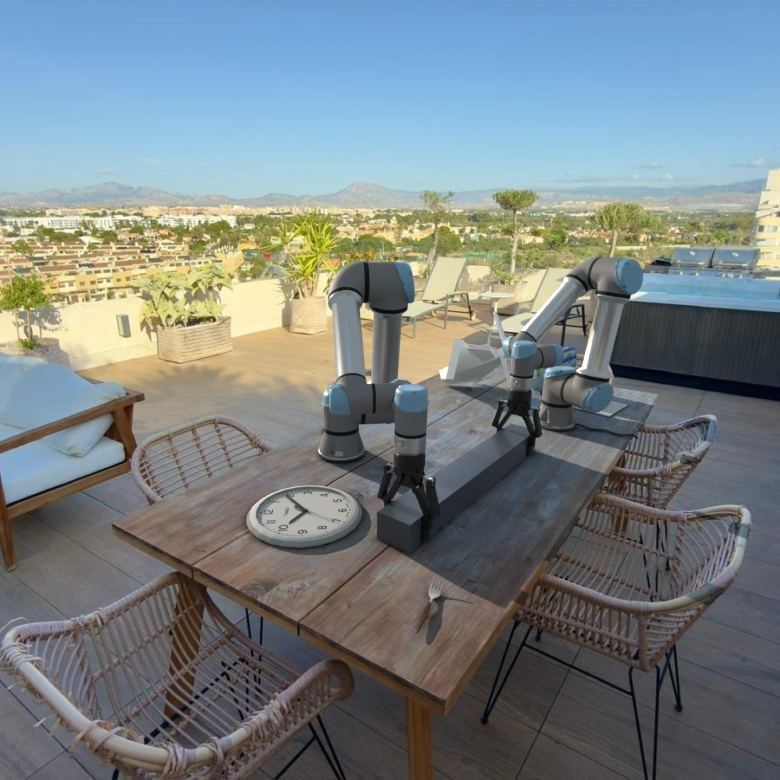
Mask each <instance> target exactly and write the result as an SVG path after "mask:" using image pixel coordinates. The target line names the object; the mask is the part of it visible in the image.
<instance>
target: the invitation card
mask: <svg viewBox="0 0 780 780" xmlns="http://www.w3.org/2000/svg"><path fill="white" fill-rule="evenodd" d="M628 406H629V404H627V403H623V402H618V401H614V400H611V402H610V403H609V405H608V406H607V407H606V408H605V409H604V410H602V411H600V412H597V413H595V414H596V415H600V416H604V417H608V418H609V417H611V416H613V415H614V414H616V413H617V412H619V411H621V410H623V409H624V408H626V407H628ZM573 409H575V410H581V411H583V410H582V409H580V408H578V407H575V406H573ZM587 413H590V412H589V411H587Z"/></svg>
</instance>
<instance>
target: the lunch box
mask: <svg viewBox="0 0 780 780" xmlns="http://www.w3.org/2000/svg"><path fill="white" fill-rule="evenodd" d="M559 346H560V347H561V348H562V349H563V351H564V360H563V362H562V363H561V364H560V365H559V366H569V367H575V368H576V364H577V363H576V362H577V348H576V347H571V346H565V345H559ZM546 369H547V368H542V369H535V370H534V377H533V387H532V389H531V390H532V392H537V393H541V394H542V390H543V379H544V374H545V370H546Z"/></svg>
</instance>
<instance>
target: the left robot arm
mask: <svg viewBox="0 0 780 780" xmlns="http://www.w3.org/2000/svg"><path fill="white" fill-rule="evenodd" d="M415 289H416V288H415V280H414V274H413V270H412V268H411V265H410V264H409V263H407V262H404V261H403V262H402V261H395V260H394V261H362V260H361V261H353V262H351V263H348V264H347V265H345V266H344V267H342V268H341V269H340V270H338V272H337V273H336V274H335V276H334V277H333V279H332V280H331V282H330V285H329V288H328V292H327V306H328V308H329V309H330V310H331V313H332V315H331V317H332V332H333V335H332V336H333V350H334V353H333V354H334V369H335V384H330V385H329V387H328V388H327V389H326V390H325V391H324V392H323V395H322V396H323V397H322V407H323V408H322V409H323V420H322V421H323V429H322V430H321V432H322V433H323V434H322V435H321V436H322V437H321V440H320V443H319V446H318V456H319V457H320V459H322V460H324V461H326V462H329V463H334V464H335V463H337V464H345V463H351V462H356V461H358V460H360V459H361V458H363V457H364V456H365V444H364V441H363V439H362V436H361V434H360V426H361V425H382V424H385V425H390V424H394V432H393V433H394V434H393V437H394V438H393V449H394V450H393V462H391V461H390V462H388V463H387V464H385V465H383V466H382V469H383V470H382V471H383V475H382V478H381V482H380V485H379V488H378V491H377V495H376V497H377V498H378V499H379V500H382V502H383V507H385V506H386V505H388V504H390V503H391V502H393V501H394V498H395V496H396V494H397V493H398V491H399V490H400V488H401V487H407V489H409V490H411V489H412V492H413V493H414V494H415V496H416V498H417V501H418V503H419V505H420V508H421V510H422V513H423V515H424V517H423V518H422V519H421V541H420V542H421V544H424V543H425V542H427V541H428V540H429V539H430V537H429V531H430V530H431V529H432V526H433V520H435V519H436V518H438V517H439V516H440V515H441V513H440V508H439V503H438V498H437V493H436V487H435V484H436V478H435V477H432V478H430V476H427V475H426V473H425V467H426V455H427V452H426V449H427V430H428V429H427V427H428V409H429V405H430V403H429V392H428V389H427V388H426V387H425V386H423V385H421V384H418V383H412V382H411V381H409V380H408V379H406V378H401V377H399V367H400V354H401V338H402V321H403V315H404V314H405V313H406V312H407V311H408V309H409V305H410V304H413V303H414V302H415V298H416V290H415ZM363 304H368V309H369V310H370V312H372V313H373V319H372V320H373V321H372V322H373V323H372V344H371V345H372V347H371V370H370V380H368V381H367V375H366V364H365V353H364V342H363V330H362V322H361V321H362V319H361V318H362V317H361V308H362V307H363ZM393 475H395V479H394V481H393V482H392V478H393ZM423 481H424V483H425V484H423ZM391 482H392V485H391ZM390 485H391V486H390ZM418 485H419V487H418V488H416V487H417V486H418ZM425 486H426V492H425V490H424V488H425Z"/></svg>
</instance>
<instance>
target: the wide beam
mask: <svg viewBox="0 0 780 780" xmlns="http://www.w3.org/2000/svg"><path fill="white" fill-rule="evenodd" d="M502 428H503V429H502V430H500V431H499V432H497V431H496V433H493V434H492V435H491V436H489V437H487V438H486V439H485V440H483V441H482V442H480V443H479V444H477V445H476V446H473V448H471V449H469V450H468V451H467V452H465V453H464V454H462V455H460V456H459V457H458V458H455V460H453V461H451V462H450V463H449V464H447V465H446V466H444V467H442V468H441V469H440V470H438V471H436V472H435V473H433V474H432V475H430V476H429V477H430V478H432V477H435V478H436V484H435V487H436V493H437V498H438V503H439V508H440V513H441V515H440V516H439V517H438V518H436V519H435V520H433V526H432V529H431V530H430V531H429V538H431V536H433V535H434V534H435V533H436V532H437V531H438V530H440V529H441V528H442V527H443V526H445V525H446V524H447V523H448V522H450V521H451V520H452V519H454V517H455V516H457V515H458V514H459V513H460V512H462V511H463V510H464V509H465V508H466V507H468V506H469V505H471V503H472V502H474V501H475V500H476V499H477V498H478V497H480V496H481V495H482V494H484V493H485V492H486V491H487V490H489V488H491V487H492V486H493V485H495V484H497V482H498V481H500V479H502V478H503V477H505V476H506V475H507V474H508V473H509V472H510V471H512V470H513V469H514V468H515V467H516V466H518V465H519V464H521V462H522V461H523V460H525V459H526V458H527V457H528V456H526V454H527V444H528V438H529V437H530V434H529V432H528V429H527V427H526V426H521V425H517V424H513V423H509V424H508V425H506V426H505V427H502ZM535 450H536V445H535V446H534V447H532V453H534V451H535ZM423 484H425V483H424V481H423ZM418 487H419V485H418V486H417V487H416V488H418ZM424 490H425V492H426V486H425V488H424ZM423 517H424V515H423V513H422V510H421V508H420V505H419V503H418V501H417V498H416V496H415V494H414V493H413V492H412V489H409V490H408V491H406V492H405V493H403V494H402V495H400V496H398V497H396V498H395V499H393V502H391V503H390V504H388V505H386V506H385V507H384V506H383V507H382V508H380V509H379V510H378V511H377V512H376V539H377V540H379V541H381V542H383V543H386V544H387V545H389V546H392V547H394V548H397V549H399V550H400V551H403V552H406V553H407V554H411V553H412V552H413V551H414V550H415V549H417V548H418V547H419V546H421V544H422V543H421V542H420V541H421V519H422V518H423Z"/></svg>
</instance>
